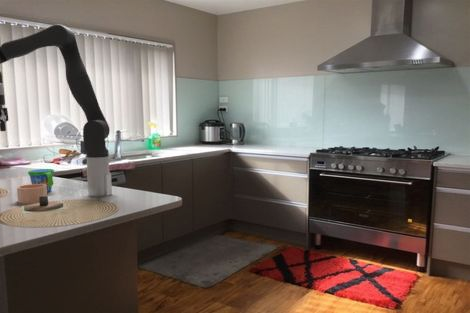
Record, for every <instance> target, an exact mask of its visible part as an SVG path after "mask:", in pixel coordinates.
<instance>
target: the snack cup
mask: <svg viewBox="0 0 470 313" xmlns="http://www.w3.org/2000/svg"><path fill="white" fill-rule="evenodd" d="M54 173H55V170H54V169H52V168H40V169H39V168H38V169H31V170H29V171H28V172H27V174H28V175H29V178H30V182H31V183H30V184H46V185H47V193H49V192H51V191H52V188H53V185H54V179H53V177H54V176H53V175H54Z"/></svg>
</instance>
